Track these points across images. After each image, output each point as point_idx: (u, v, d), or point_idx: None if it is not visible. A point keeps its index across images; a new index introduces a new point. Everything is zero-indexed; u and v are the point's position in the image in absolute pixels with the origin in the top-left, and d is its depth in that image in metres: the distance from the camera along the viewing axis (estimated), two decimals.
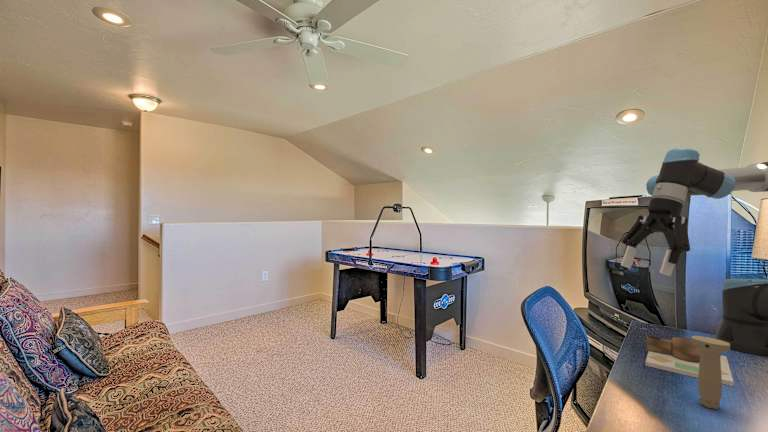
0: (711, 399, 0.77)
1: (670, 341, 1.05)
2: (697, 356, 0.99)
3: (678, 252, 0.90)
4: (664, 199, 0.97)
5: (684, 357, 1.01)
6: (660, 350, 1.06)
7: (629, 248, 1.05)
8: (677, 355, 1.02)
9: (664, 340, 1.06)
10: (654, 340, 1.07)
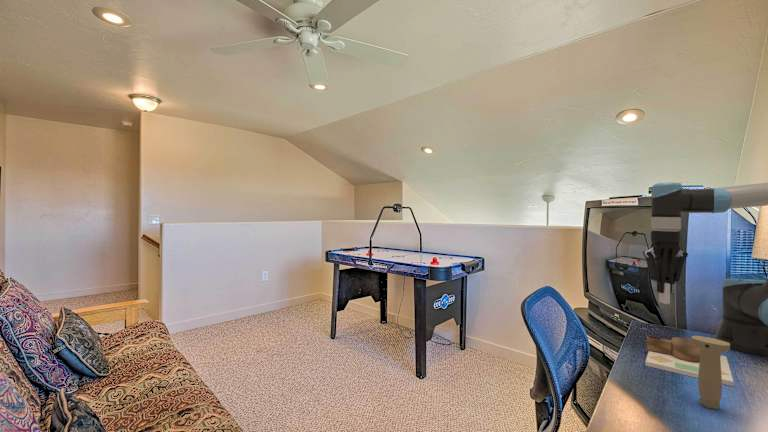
0: (711, 399, 0.77)
1: (670, 341, 1.05)
2: (697, 356, 0.99)
3: (659, 283, 1.11)
4: None
5: (684, 357, 1.01)
6: (660, 350, 1.06)
7: None
8: (677, 355, 1.02)
9: (664, 340, 1.06)
10: (654, 340, 1.07)
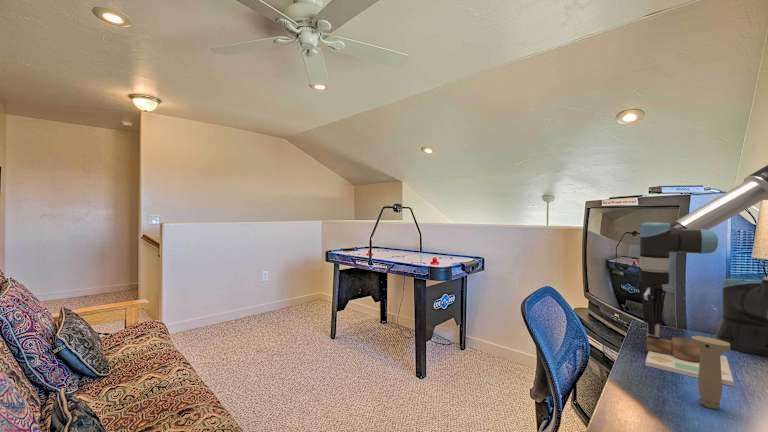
0: (711, 399, 0.77)
1: (670, 341, 1.05)
2: (697, 356, 0.99)
3: (651, 325, 1.09)
4: (640, 271, 1.11)
5: (684, 357, 1.01)
6: (660, 350, 1.06)
7: None
8: (677, 355, 1.02)
9: (664, 340, 1.06)
10: (654, 340, 1.07)
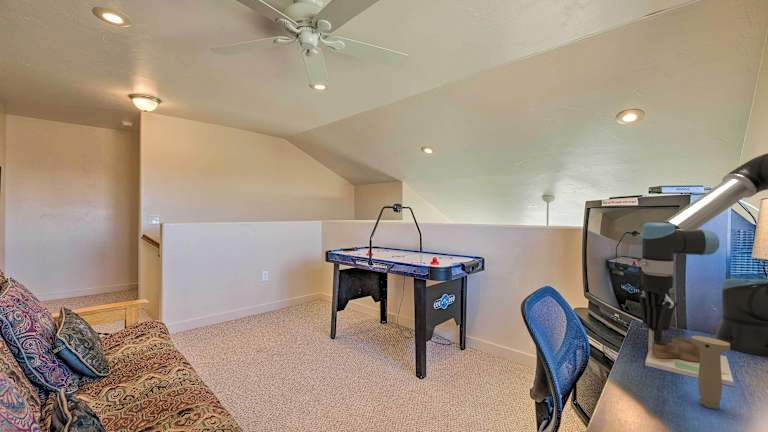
0: (711, 399, 0.77)
1: (674, 344, 1.03)
2: None
3: (660, 332, 1.03)
4: (652, 276, 1.02)
5: (696, 359, 0.99)
6: (670, 356, 1.02)
7: (651, 332, 1.04)
8: (688, 358, 1.00)
9: (670, 344, 1.03)
10: (665, 347, 1.02)
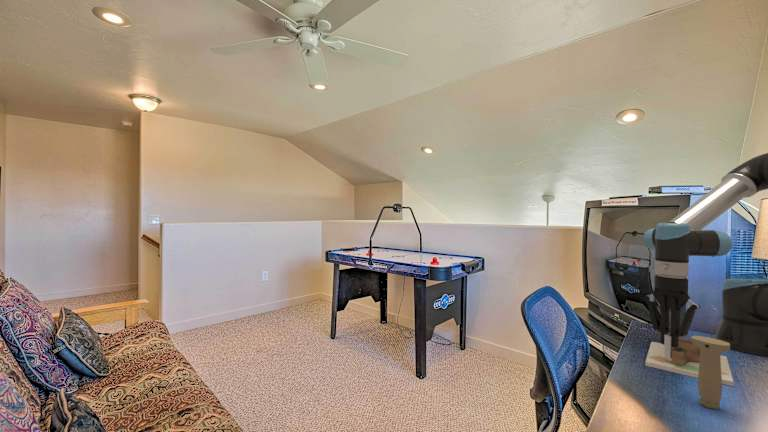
0: (711, 399, 0.77)
1: (683, 347, 1.01)
2: None
3: (678, 337, 0.98)
4: (676, 280, 0.96)
5: None
6: (686, 361, 0.98)
7: (668, 338, 0.99)
8: (697, 359, 0.99)
9: None
10: (684, 352, 0.97)
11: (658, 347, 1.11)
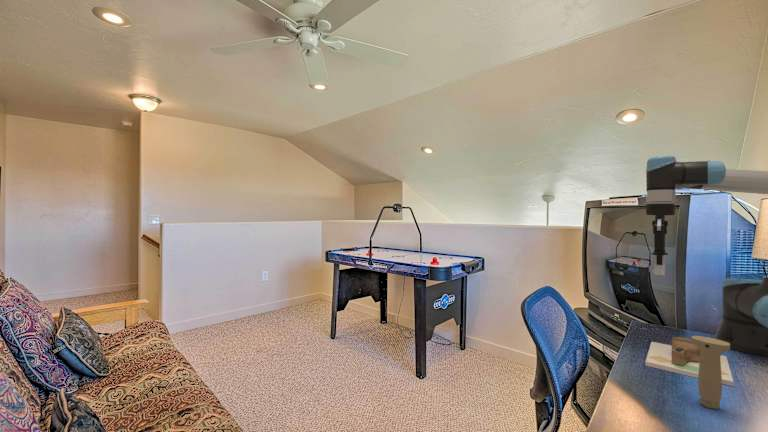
0: (711, 399, 0.77)
1: (683, 347, 1.01)
2: None
3: (660, 255, 1.12)
4: (648, 205, 1.14)
5: None
6: (686, 361, 0.98)
7: None
8: (697, 359, 0.99)
9: None
10: (684, 352, 0.97)
11: (658, 347, 1.11)
